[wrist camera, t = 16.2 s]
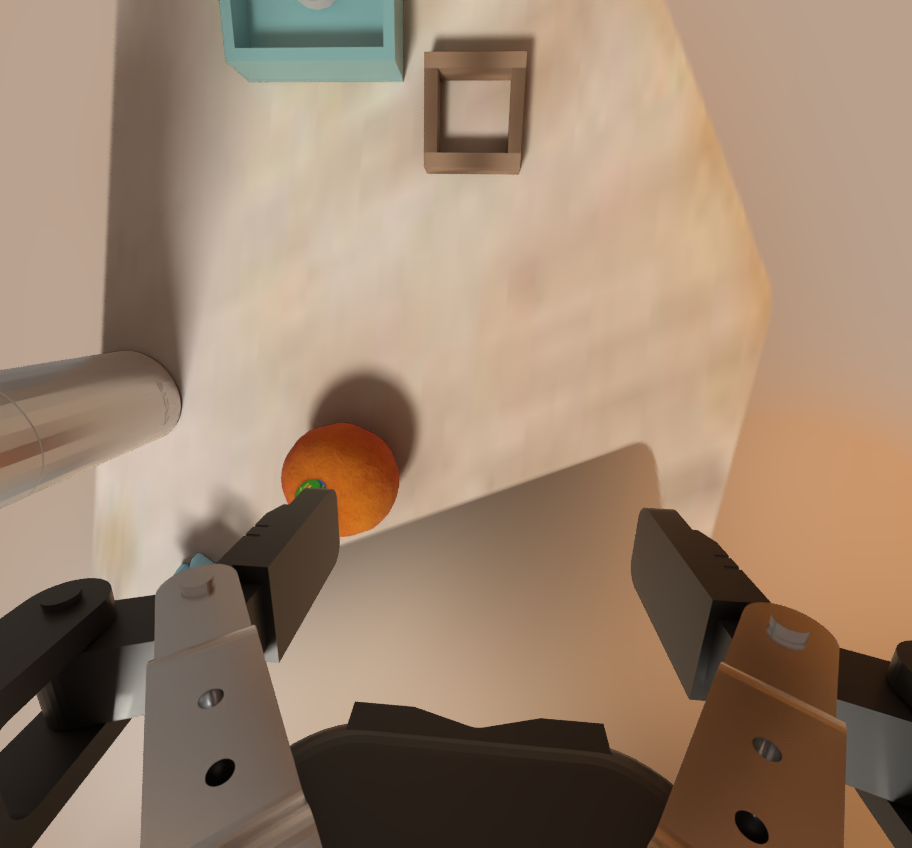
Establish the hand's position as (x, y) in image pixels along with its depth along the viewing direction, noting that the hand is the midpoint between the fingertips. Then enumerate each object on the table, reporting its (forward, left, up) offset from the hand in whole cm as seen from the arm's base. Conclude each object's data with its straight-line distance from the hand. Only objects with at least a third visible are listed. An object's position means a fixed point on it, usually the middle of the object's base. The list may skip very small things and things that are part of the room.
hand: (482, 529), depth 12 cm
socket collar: (-2, +19, -30) cm, 36 cm away
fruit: (-13, -11, -30) cm, 35 cm away
